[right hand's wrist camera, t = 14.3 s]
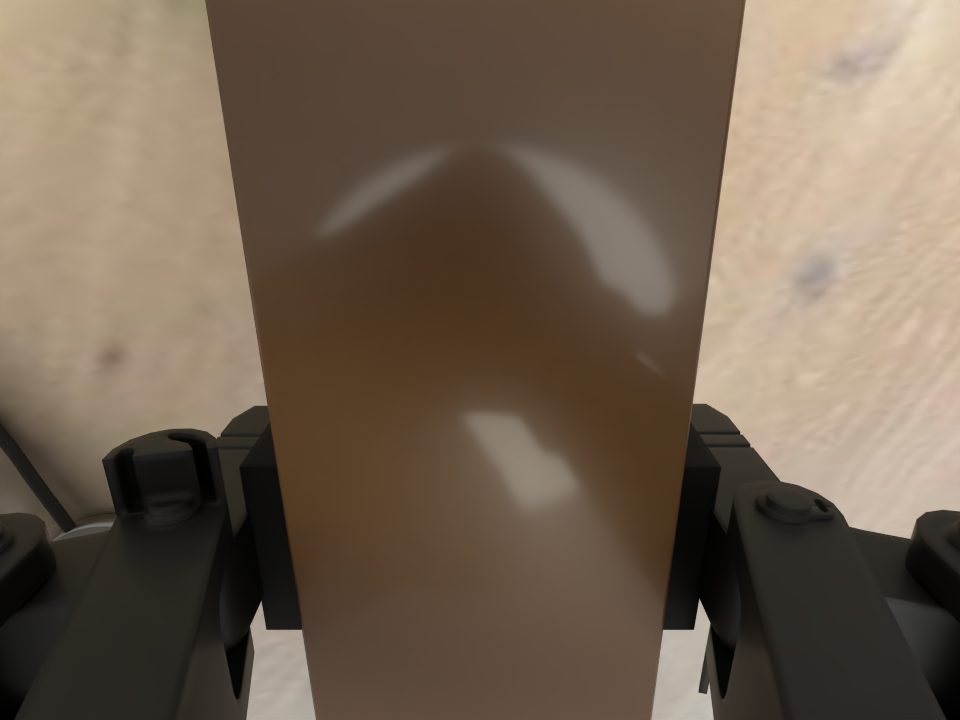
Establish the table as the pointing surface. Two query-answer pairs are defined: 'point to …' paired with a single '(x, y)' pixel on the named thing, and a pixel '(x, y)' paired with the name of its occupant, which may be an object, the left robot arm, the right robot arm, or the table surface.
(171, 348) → the table surface
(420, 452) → the bar
